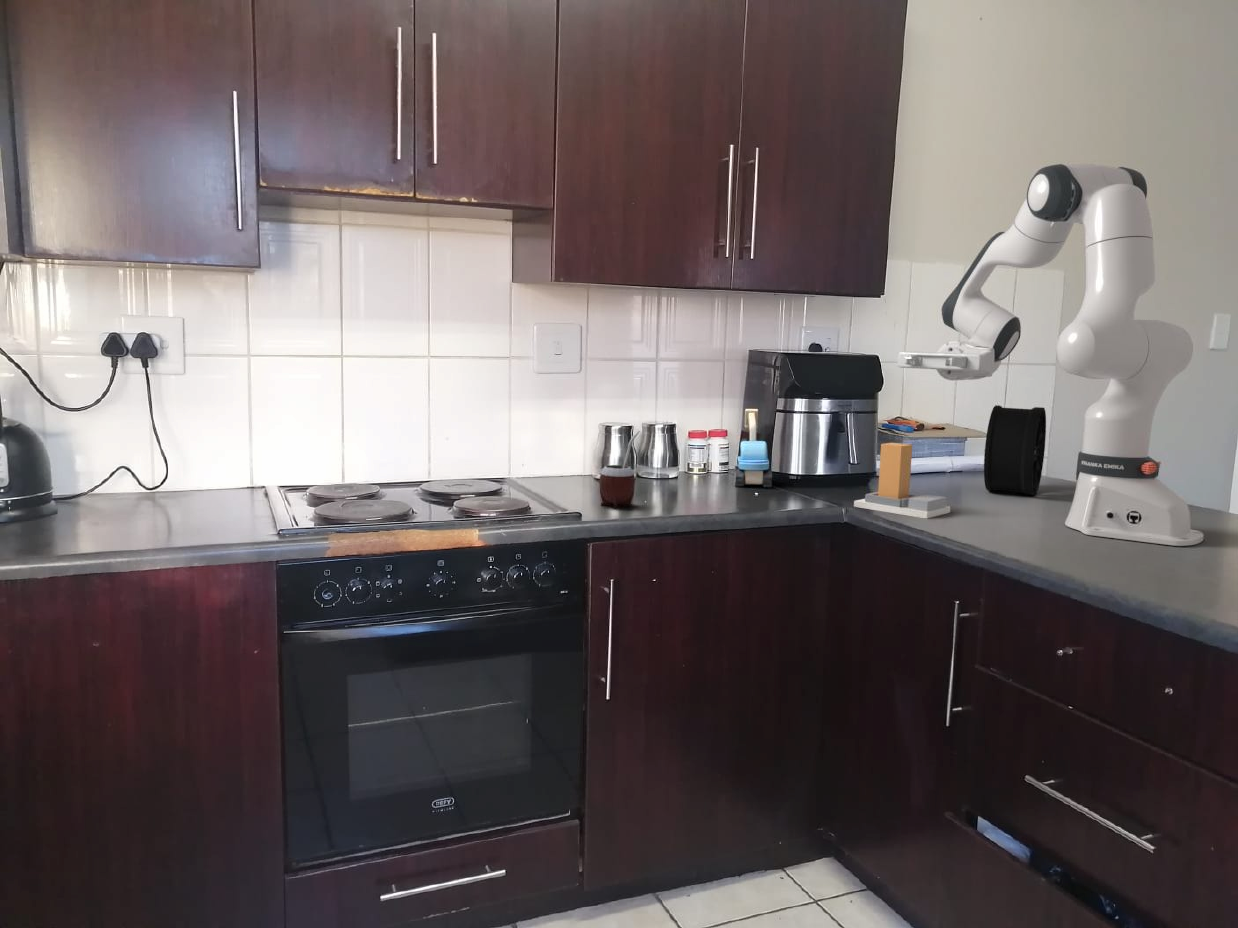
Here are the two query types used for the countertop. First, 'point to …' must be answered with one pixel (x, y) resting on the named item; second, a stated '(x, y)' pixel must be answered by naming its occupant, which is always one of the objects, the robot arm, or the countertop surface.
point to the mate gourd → (618, 483)
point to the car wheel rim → (1015, 449)
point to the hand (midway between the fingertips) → (927, 361)
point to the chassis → (906, 505)
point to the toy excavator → (753, 457)
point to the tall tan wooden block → (895, 470)
